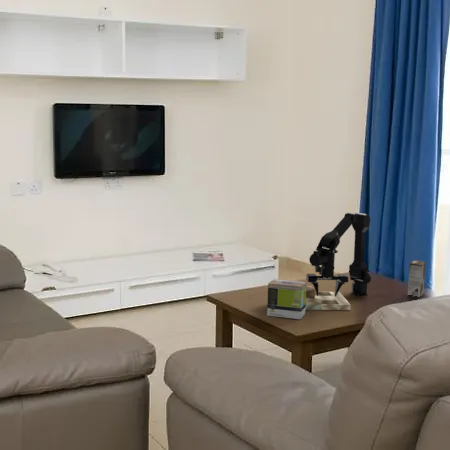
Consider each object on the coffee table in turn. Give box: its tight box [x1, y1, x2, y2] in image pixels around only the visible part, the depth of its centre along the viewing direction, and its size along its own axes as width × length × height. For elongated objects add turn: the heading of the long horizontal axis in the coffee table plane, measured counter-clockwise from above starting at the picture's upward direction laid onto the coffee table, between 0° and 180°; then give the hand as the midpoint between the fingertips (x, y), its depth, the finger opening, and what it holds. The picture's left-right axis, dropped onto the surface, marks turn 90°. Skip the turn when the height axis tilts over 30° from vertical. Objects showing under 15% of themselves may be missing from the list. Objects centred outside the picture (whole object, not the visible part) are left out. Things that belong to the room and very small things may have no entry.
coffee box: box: [407, 259, 427, 298], centre depth 358 cm, size 9×6×16 cm
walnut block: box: [306, 287, 315, 299], centre depth 338 cm, size 6×6×4 cm
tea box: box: [266, 278, 307, 320], centre depth 318 cm, size 15×10×15 cm, turn 71°
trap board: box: [305, 285, 352, 311], centre depth 339 cm, size 21×22×5 cm
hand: (326, 296), depth 339 cm, fingers open, 8 cm apart
